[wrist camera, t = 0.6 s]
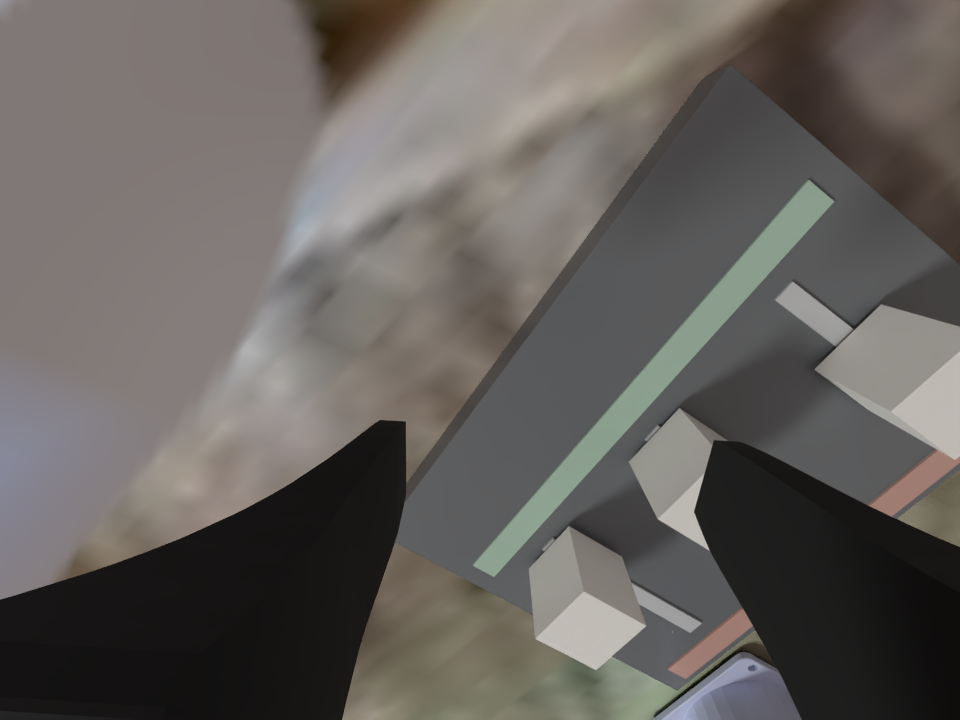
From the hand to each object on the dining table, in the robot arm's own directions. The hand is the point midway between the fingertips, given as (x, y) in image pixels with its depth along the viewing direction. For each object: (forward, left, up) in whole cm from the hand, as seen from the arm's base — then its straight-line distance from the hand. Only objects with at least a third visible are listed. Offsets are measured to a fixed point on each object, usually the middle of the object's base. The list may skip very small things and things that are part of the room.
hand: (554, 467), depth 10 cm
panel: (-8, 0, -9) cm, 12 cm away
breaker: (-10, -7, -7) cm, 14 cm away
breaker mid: (-7, 0, -7) cm, 10 cm away
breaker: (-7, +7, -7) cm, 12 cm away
